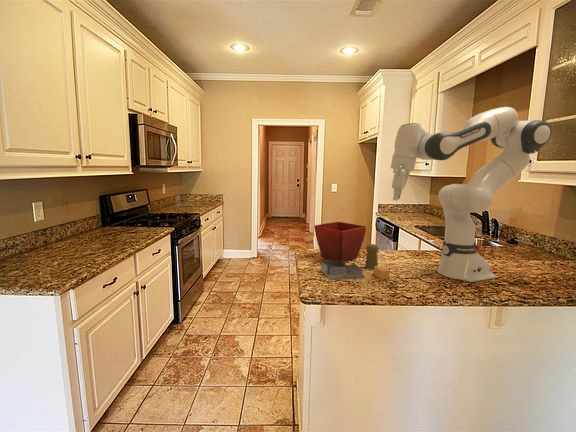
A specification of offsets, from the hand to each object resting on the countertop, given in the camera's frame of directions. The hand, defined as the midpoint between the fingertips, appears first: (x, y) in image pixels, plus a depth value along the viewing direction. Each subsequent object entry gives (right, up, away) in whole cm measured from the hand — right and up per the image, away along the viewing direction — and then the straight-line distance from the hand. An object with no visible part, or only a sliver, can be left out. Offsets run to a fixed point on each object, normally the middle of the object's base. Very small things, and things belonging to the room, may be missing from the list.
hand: (396, 199), depth 120 cm
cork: (-5, -31, +17) cm, 36 cm away
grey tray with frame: (-21, -32, +9) cm, 39 cm away
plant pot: (-18, -28, +32) cm, 47 cm away
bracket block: (-4, -33, +5) cm, 33 cm away
